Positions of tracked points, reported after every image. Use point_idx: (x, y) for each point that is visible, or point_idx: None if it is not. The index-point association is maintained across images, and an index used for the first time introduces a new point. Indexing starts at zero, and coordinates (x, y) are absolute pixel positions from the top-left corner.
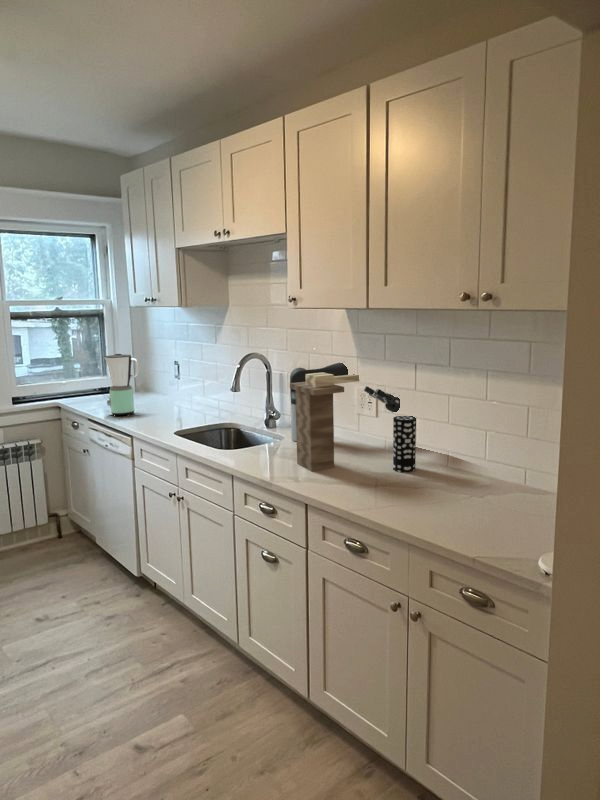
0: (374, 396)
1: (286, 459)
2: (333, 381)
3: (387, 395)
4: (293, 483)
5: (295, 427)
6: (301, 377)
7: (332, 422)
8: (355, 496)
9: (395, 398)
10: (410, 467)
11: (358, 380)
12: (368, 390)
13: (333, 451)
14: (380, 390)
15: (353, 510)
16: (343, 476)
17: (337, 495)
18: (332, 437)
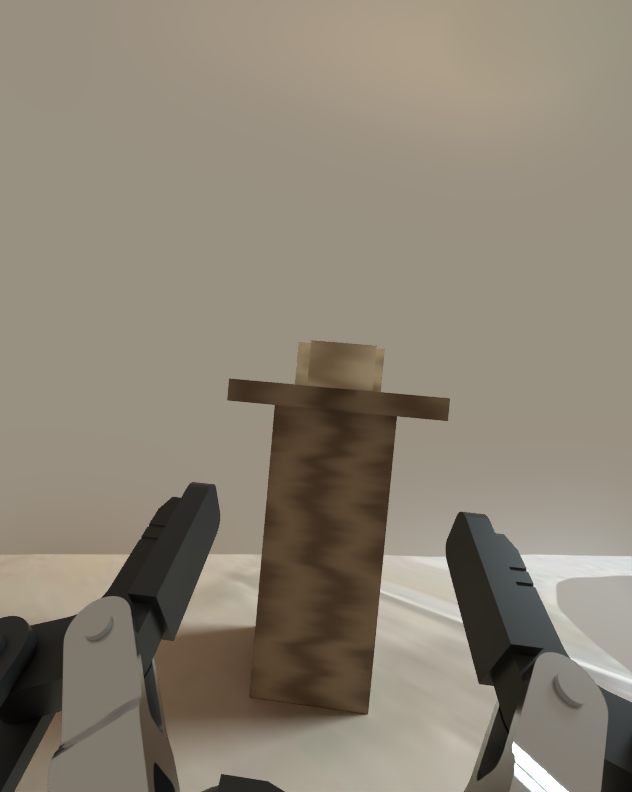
0: (474, 772)
1: (421, 641)
2: (296, 369)
3: (63, 628)
4: (229, 567)
5: None
6: None
7: (265, 521)
8: (41, 592)
9: None
10: None
11: (308, 378)
12: (466, 580)
13: (255, 633)
14: (179, 508)
15: (20, 556)
16: (154, 659)
17: (93, 577)
18: (261, 577)
